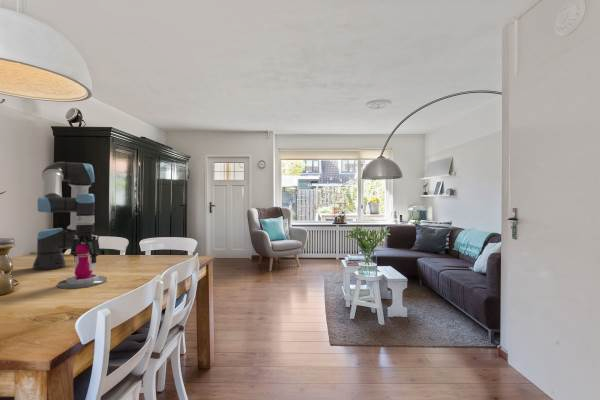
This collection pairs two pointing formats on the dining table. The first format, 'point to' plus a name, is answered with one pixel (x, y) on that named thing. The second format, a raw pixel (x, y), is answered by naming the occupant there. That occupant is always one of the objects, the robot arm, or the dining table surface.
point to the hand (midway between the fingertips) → (85, 269)
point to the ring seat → (82, 282)
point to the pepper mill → (82, 262)
